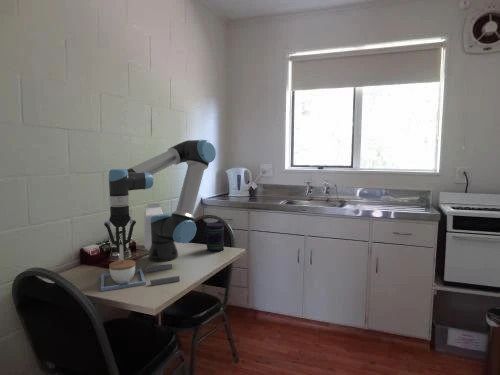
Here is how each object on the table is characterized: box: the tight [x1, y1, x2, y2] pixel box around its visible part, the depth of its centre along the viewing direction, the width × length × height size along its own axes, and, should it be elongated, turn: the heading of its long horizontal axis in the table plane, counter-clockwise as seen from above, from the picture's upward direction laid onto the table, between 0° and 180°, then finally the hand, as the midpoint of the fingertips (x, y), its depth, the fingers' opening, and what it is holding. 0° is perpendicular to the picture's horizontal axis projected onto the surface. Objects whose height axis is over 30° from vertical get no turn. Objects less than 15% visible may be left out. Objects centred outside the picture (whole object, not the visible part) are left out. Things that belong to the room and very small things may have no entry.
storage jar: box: [205, 221, 225, 253], centre depth 192 cm, size 10×10×15 cm
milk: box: [143, 201, 164, 250], centre depth 201 cm, size 12×12×26 cm
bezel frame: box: [100, 268, 147, 292], centre depth 147 cm, size 17×17×2 cm
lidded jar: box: [108, 259, 136, 284], centre depth 147 cm, size 11×11×9 cm
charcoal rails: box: [145, 263, 181, 286], centre depth 153 cm, size 12×18×2 cm, turn 23°
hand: (121, 259), depth 146 cm, fingers closed
